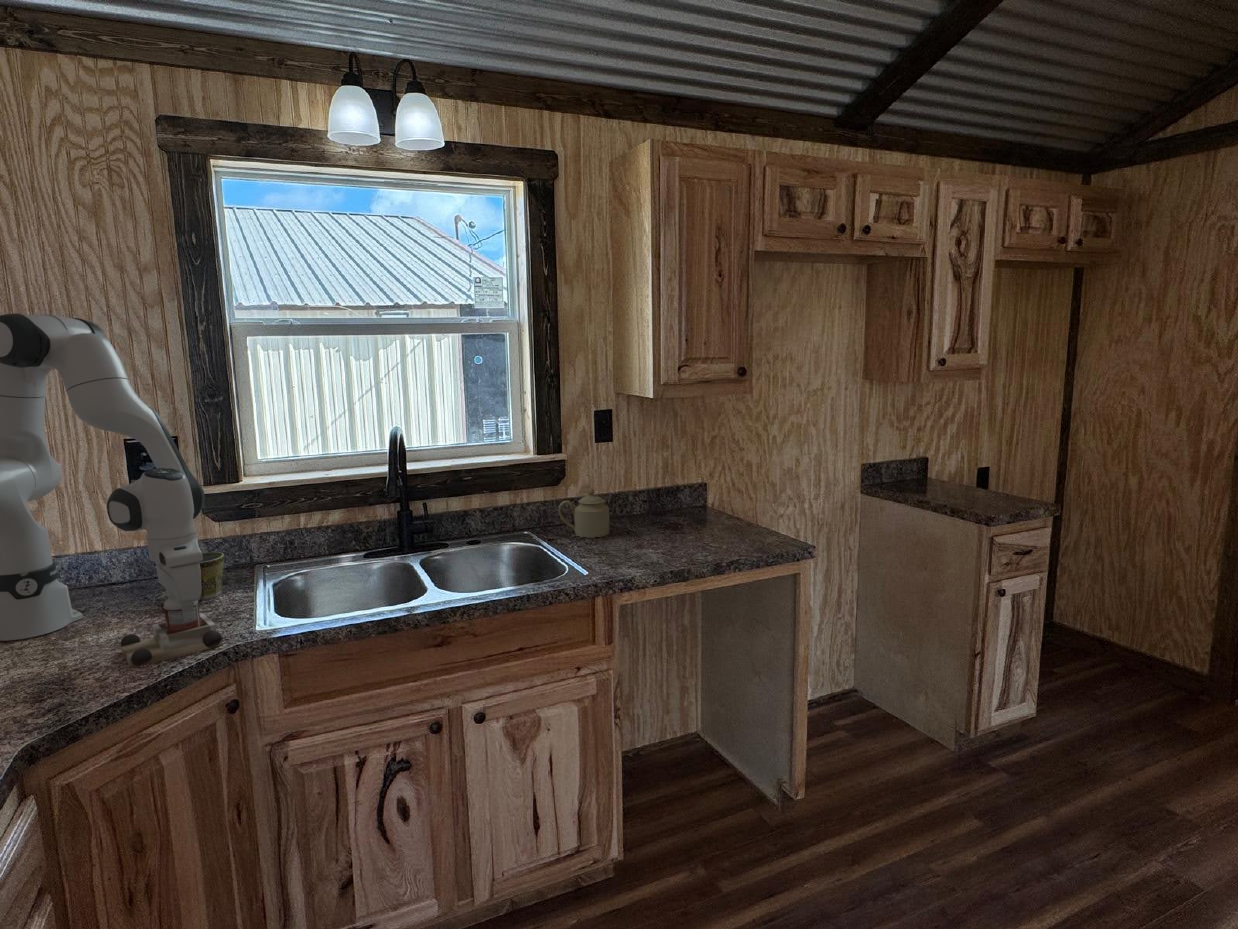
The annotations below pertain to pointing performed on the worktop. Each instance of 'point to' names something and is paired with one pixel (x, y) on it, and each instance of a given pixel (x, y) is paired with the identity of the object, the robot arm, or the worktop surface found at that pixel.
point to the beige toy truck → (169, 643)
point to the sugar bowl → (589, 516)
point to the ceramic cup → (211, 574)
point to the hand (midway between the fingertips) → (181, 612)
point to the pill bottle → (179, 615)
